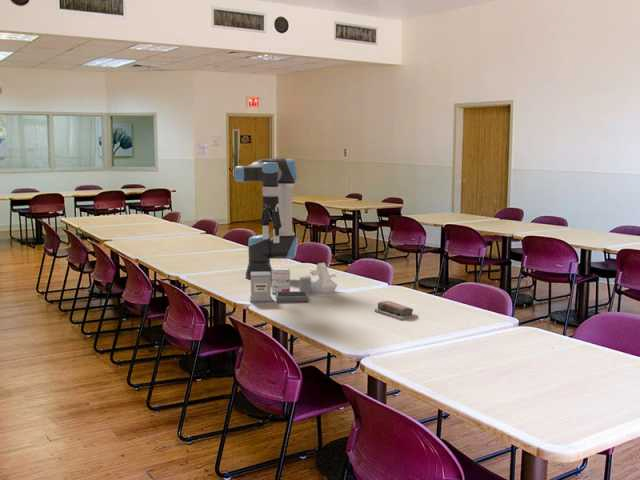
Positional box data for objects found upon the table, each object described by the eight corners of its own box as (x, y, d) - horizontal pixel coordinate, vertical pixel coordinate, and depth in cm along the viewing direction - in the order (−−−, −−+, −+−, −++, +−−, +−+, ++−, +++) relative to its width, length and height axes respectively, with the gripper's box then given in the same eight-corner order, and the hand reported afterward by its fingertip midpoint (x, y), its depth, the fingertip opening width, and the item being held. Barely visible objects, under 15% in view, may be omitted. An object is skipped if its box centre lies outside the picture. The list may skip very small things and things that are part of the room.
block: (299, 291, 327) (299, 275, 326) (309, 291, 327) (309, 275, 326) (300, 293, 322) (300, 277, 321) (310, 293, 322) (310, 277, 321)
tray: (275, 296, 314) (275, 291, 314) (306, 296, 316) (306, 291, 315) (276, 302, 303) (276, 297, 302) (308, 301, 304) (308, 296, 304)
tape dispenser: (341, 290, 328) (341, 263, 326) (318, 294, 320) (318, 266, 318) (331, 287, 335) (331, 261, 333) (308, 291, 327) (308, 264, 325)
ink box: (290, 291, 326) (290, 268, 324) (288, 294, 321) (288, 270, 319) (273, 291, 326) (272, 267, 325) (271, 293, 321) (271, 269, 320)
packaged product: (373, 301, 286) (391, 299, 292) (373, 312, 287) (391, 309, 292) (400, 310, 271) (418, 307, 277) (400, 321, 272) (418, 318, 277)
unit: (250, 297, 312) (249, 271, 310) (271, 297, 313) (271, 271, 311) (250, 302, 302) (249, 275, 301) (271, 302, 303) (271, 275, 302)
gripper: (253, 194, 316) (254, 238, 319) (273, 197, 294) (273, 244, 297) (268, 193, 319) (268, 237, 322) (288, 197, 297) (288, 243, 300)
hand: (270, 241), depth 310 cm, fingers open, 13 cm apart
